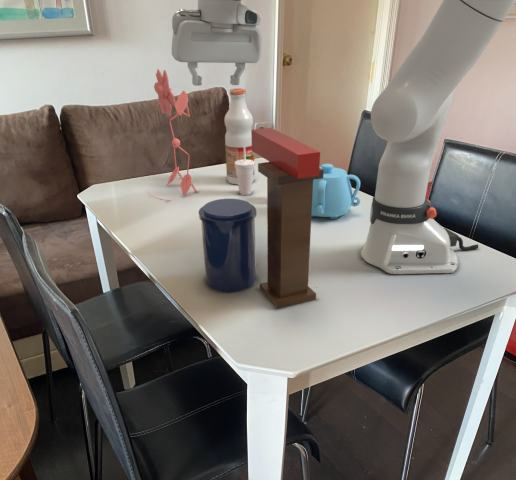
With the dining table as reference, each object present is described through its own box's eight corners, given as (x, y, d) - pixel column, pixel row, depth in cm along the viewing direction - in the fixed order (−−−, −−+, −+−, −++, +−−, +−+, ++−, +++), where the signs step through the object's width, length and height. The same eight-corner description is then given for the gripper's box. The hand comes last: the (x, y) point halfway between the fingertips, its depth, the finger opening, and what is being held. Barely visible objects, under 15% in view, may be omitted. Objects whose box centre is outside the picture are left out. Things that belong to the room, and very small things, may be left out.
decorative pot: (335, 199, 155) (338, 154, 147) (363, 217, 143) (368, 168, 135) (287, 207, 150) (288, 160, 142) (312, 226, 138) (314, 176, 130)
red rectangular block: (251, 150, 101) (251, 129, 99) (270, 148, 103) (270, 127, 100) (297, 178, 86) (298, 154, 84) (319, 175, 88) (320, 151, 85)
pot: (261, 269, 118) (260, 198, 108) (252, 295, 108) (250, 219, 98) (211, 266, 119) (206, 195, 109) (198, 290, 110) (191, 216, 100)
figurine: (179, 177, 175) (167, 62, 154) (209, 199, 156) (200, 72, 136) (136, 184, 169) (118, 66, 148) (162, 208, 150) (146, 77, 130)
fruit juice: (232, 175, 176) (228, 86, 159) (257, 177, 173) (256, 87, 157) (223, 184, 168) (218, 91, 152) (250, 186, 166) (247, 92, 150)
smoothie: (256, 190, 163) (255, 145, 155) (254, 196, 158) (253, 150, 150) (236, 189, 163) (235, 144, 155) (234, 196, 158) (232, 150, 150)
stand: (259, 289, 110) (257, 163, 94) (296, 281, 113) (300, 157, 97) (277, 309, 103) (278, 176, 87) (315, 299, 106) (323, 169, 90)
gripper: (178, 10, 97) (178, 88, 106) (268, 16, 107) (261, 87, 115) (166, 6, 102) (167, 82, 110) (253, 12, 111) (248, 81, 119)
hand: (216, 84), depth 113 cm, fingers open, 8 cm apart
